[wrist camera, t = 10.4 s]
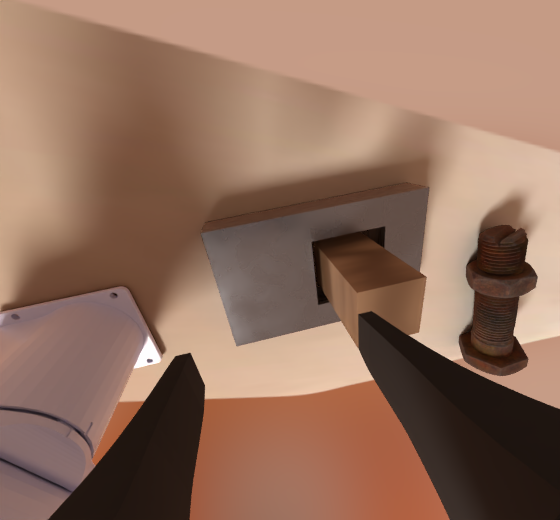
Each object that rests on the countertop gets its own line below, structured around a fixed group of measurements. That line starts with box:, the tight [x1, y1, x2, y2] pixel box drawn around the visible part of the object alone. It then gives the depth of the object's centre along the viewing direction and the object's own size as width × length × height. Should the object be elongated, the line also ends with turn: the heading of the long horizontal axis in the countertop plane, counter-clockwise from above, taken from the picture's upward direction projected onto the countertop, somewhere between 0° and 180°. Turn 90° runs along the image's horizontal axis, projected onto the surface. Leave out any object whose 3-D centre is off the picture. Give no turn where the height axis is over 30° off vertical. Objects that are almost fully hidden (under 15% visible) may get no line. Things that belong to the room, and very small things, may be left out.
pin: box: [313, 232, 427, 348], centre depth 18 cm, size 4×4×8 cm
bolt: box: [459, 225, 537, 376], centre depth 24 cm, size 6×5×15 cm
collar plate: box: [201, 183, 429, 346], centre depth 20 cm, size 16×10×2 cm, turn 99°
